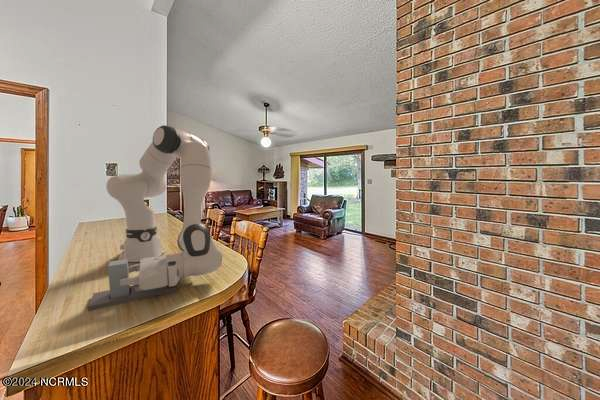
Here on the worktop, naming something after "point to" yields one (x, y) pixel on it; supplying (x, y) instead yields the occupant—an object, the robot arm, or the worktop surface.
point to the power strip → (135, 293)
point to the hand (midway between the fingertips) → (121, 276)
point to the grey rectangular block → (118, 278)
